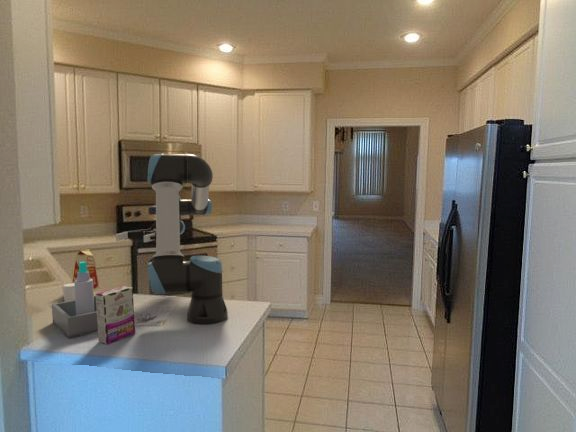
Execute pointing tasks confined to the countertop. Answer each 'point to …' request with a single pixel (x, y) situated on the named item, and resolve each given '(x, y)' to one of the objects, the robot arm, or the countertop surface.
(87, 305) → the spray bottle
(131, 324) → the candy bar box
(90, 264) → the milk carton
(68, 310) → the tote
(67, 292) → the white cylinder
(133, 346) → the countertop surface
